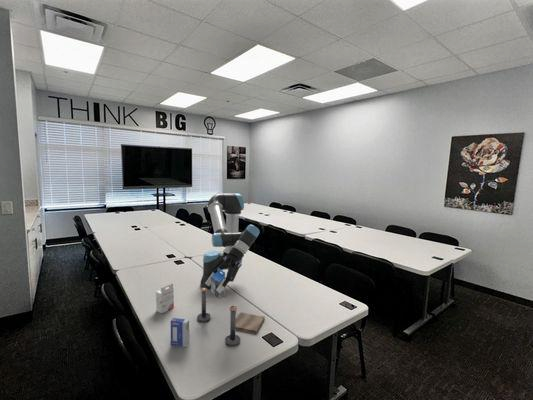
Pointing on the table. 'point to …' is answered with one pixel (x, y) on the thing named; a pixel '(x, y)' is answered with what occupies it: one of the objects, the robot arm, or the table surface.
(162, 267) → the table surface
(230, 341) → the cord stand near
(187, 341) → the walkman
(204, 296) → the cord stand far
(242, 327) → the walnut board
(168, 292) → the ink cartridge box
